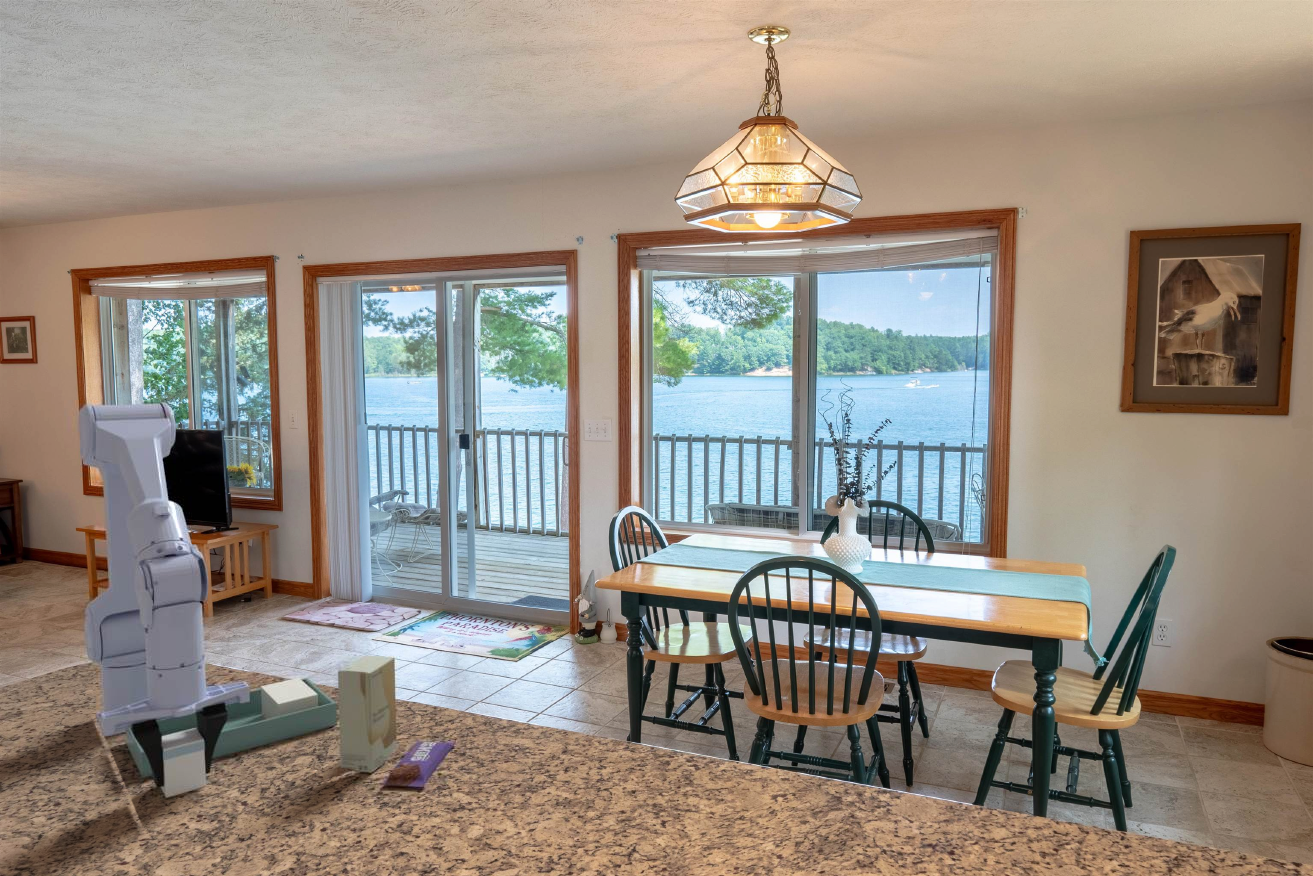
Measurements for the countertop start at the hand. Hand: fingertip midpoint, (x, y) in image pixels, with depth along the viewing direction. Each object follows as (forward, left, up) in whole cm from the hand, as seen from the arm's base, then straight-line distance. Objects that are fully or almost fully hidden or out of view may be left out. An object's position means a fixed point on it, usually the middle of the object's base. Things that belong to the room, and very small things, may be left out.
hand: (182, 777), depth 96 cm
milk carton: (0, 0, -1) cm, 1 cm away
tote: (-11, +8, -1) cm, 14 cm away
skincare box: (+7, +19, -2) cm, 20 cm away
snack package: (+12, +23, -2) cm, 26 cm away
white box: (-11, +15, -1) cm, 19 cm away
